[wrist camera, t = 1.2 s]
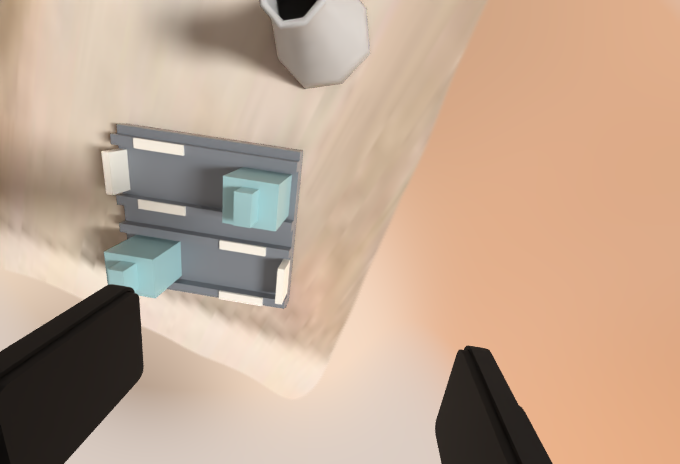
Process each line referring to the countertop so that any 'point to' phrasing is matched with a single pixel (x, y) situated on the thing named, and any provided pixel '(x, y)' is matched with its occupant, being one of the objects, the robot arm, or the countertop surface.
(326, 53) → the flask
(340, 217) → the countertop surface
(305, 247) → the countertop surface
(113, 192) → the switch bank
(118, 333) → the robot arm
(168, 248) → the tab
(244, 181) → the tab
